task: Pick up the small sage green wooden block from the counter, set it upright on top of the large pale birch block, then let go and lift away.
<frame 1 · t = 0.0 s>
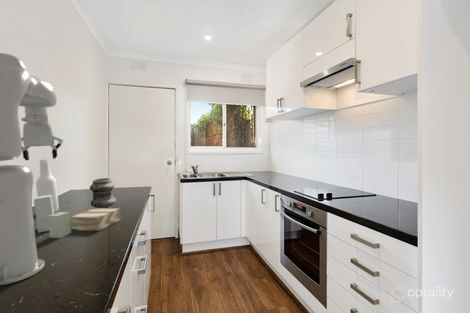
hand: (41, 159, 107), 31 cm above the worktop, tool pointing down, fingers open, 9 cm apart
skincare box: (46, 229, 108), on the worktop
sage block: (60, 235, 99), on the worktop
alcohol: (49, 212, 135), on the worktop
birch block: (97, 225, 111), on the worktop
apothecary jar: (104, 212, 132), on the worktop
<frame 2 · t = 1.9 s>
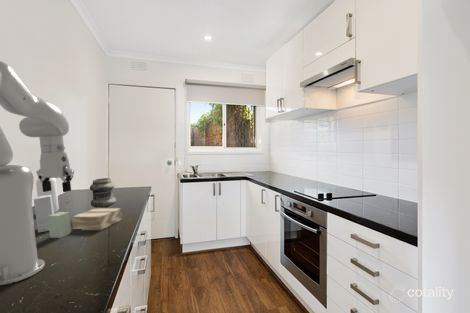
hand: (57, 191, 99), 18 cm above the worktop, tool pointing down, fingers open, 9 cm apart
nothing on the worktop moved.
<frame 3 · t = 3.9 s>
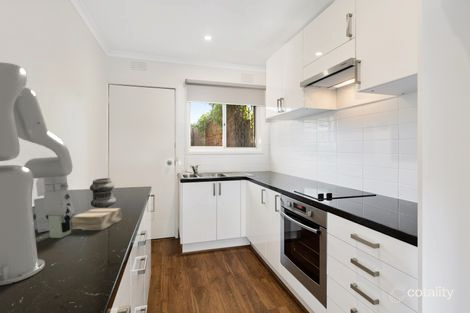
hand: (60, 230, 99), 2 cm above the worktop, tool pointing down, fingers closed on sage block, 5 cm apart
sage block: (60, 235, 99), on the worktop, touching gripper
everything else where it was.
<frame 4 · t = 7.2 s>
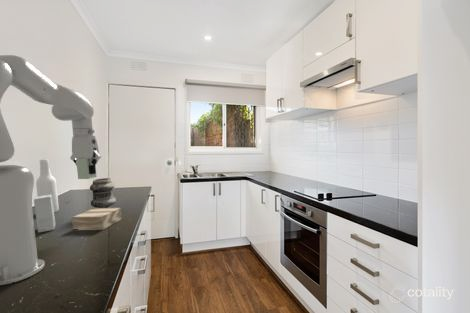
hand: (87, 173, 108), 24 cm above the worktop, tool pointing down, fingers closed on sage block, 5 cm apart
sage block: (87, 178, 108), point 22 cm above the worktop, touching gripper
everything else where it was.
when the fingers open (9 cm above the worktop, at t = 10.6 s): sage block drops 1 cm, resting on birch block.
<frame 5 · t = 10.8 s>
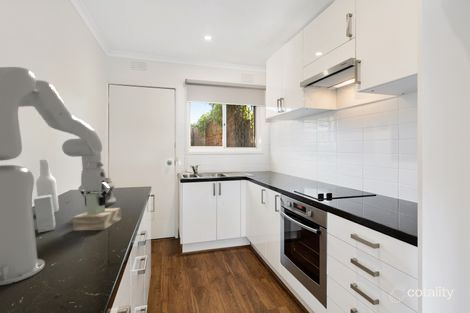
hand: (95, 204, 110), 9 cm above the worktop, tool pointing down, fingers open, 6 cm apart
sage block: (96, 212, 110), point 6 cm above the worktop, touching birch block
birch block: (98, 225, 111), on the worktop, touching sage block
everything else where it was.
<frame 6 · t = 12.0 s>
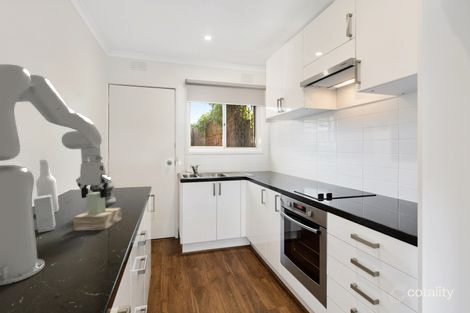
hand: (94, 197, 110), 13 cm above the worktop, tool pointing down, fingers open, 9 cm apart
nothing on the worktop moved.
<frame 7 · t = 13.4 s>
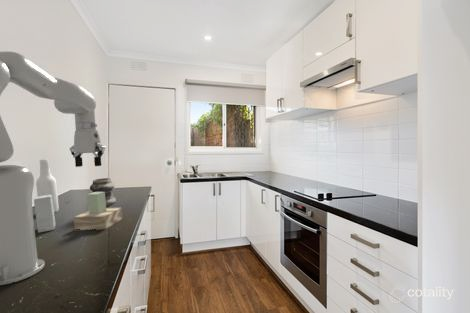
hand: (88, 166, 106), 27 cm above the worktop, tool pointing down, fingers open, 9 cm apart
nothing on the worktop moved.
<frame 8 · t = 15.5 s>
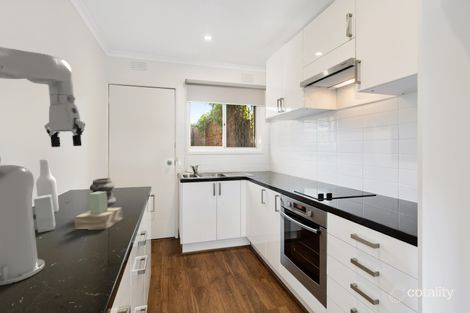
hand: (66, 146, 92), 36 cm above the worktop, tool pointing down, fingers open, 9 cm apart
sage block: (99, 212, 111), point 6 cm above the worktop
birch block: (100, 224, 112), on the worktop
everything else where it was.
at the end: sage block inside the target area on the birch block (0.3 cm from its centre), point 6.0 cm above the birch block's base; sage block tilted 1°; the gripper is holding nothing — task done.
